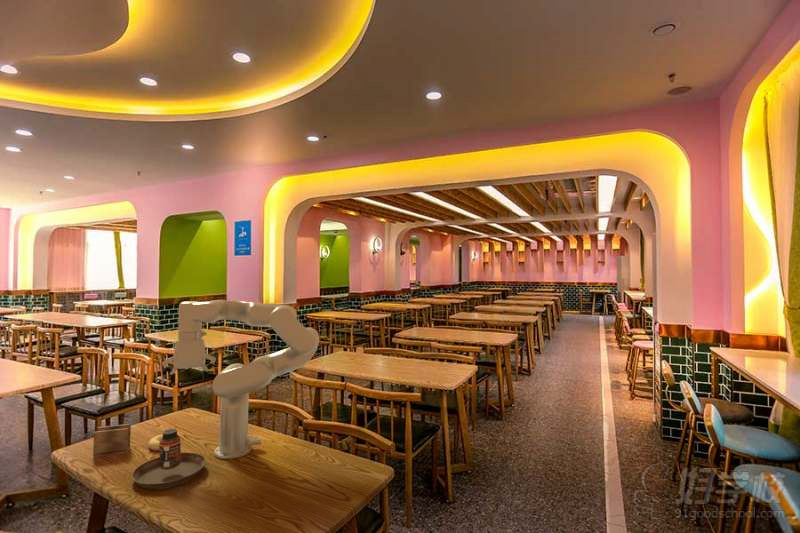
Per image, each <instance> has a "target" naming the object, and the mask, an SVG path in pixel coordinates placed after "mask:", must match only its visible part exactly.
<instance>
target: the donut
mask: <svg viewBox="0 0 800 533" xmlns="http://www.w3.org/2000/svg"><path fill="white" fill-rule="evenodd" d="M162 437H163V434H158V435H156V436H154V437H152V438H151V439H150V440H149V441H148V448H149V449H150V450H152V451H155V452H159V442H160V440H161V438H162Z"/></svg>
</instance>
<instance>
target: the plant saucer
mask: <svg viewBox="0 0 800 533" xmlns="http://www.w3.org/2000/svg"><path fill="white" fill-rule="evenodd" d="M206 461H207V460H206V458H205V457H204V455H202V454H198V453H195V452H181V463H180V464H179V465H178V466H177V467H175V468H173V469H168V470H164V469H161V468H160V456H158V457H156V458H152V459H150V460H148V461H145V462H143V463H142V464H140V465H138V466H137V467H136V468H134V470H133V471H132V473H131V479H132V480H133V481H134V483H136V484H137V485H138V486H140V487H142V488H144V489H147V490H162V489H163V490H164V489H168V488H173V487H177V486H179V485H180V486H181V485H183V484H185V483H186V482H188V481H191V480H192V479H194V478H195V477H197V475H199V473H200V472H201V471H202V469H203V467H204V466H205V465H206Z"/></svg>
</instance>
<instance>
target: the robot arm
mask: <svg viewBox="0 0 800 533" xmlns="http://www.w3.org/2000/svg"><path fill="white" fill-rule="evenodd" d="M297 313H298V312H297V310H296V309H295V308H294V307H293V306H290V305H288V304H287V305H286V304H277V303H263V302H262V303H261V302H252V301H250V302H249V301H241V300H227V299H216V300H215V299H214V300H211V301H210V300H209V301H205V302H204V301H203V302H200V301H196V300H195V301H193V300H190V301H189V300H188V301H182V302H180V303H179V305H178V326H177V327H178V331H177V332H178V333H177V334H178V335H177V339H175V344H174V348H173V356H171V357H169V358H167V359H165V360H163V361H162V362H161V364H162V367H163V369H164V370H165V371H166V372H167V373H168V374H169V375H170V384H172V386H173V387H175V386H176V372H177V371H178V370H181V369H182V370H183V369H193V368H202V383H203V384H204V383H206V380H208V372H209V370H211V368H212V367H213V366H214V364H215V362H216V360H217V358H216V357H215V356H213V355H210V354H207V353H206V345H205V339H204V336H207V332H206V331H203V330H202V328H203V323H206V324H211V323H215V322H217V321H220V320H222V321H223V320H226V321H236V322H237V321H238V322H242V323H245V324H246V325H248V326H250V327H261V328H262V327H263V328H272V330H273V331H274V332H275V334H277V336H278V337H279V338H280V339H281V340H283V342H284V343H285V344H286V346H288V347H287V348H283V349H281V350H279V351H275V352H272V353H269V354H265V355H262V356H258V357H256V358H254V359H253V360H252V361H251V362H249V363H246V364H242V363H240V362H239V363H232V364H230V365H228V366H226V367H225V368H224V369H222V370H221V371H220V372H219V373H217V375H216V376H215V377H214V379H213V382H212V391H213V394H214V395H216V396H217V397H218V398H220V403H219V404H220V405H219V436H218V437H219V440H218V441H219V442H218V443H219V444H218V446H217V447H216V448H214V456H215V457H216V458H218V459H220V460H221V459H222V460H234V459H238V458H242V457H244V456H246V455H248V454H250V453H251V451H252V450H251V449H253V448H252V446H254V445H255V446H257V445H261V442H262V441H261V438H257V436H256V437H249V434H248V432H249V426H248V425H249V399H250V398H249V397H250V396H249V395H250V393H252V392H255V391H258V390H260V389H263V388H264V387H266V386H268V385H269V384H270V383H271V382H272V380H273V379H275V378H277V377H280V376H283V375H285V374H288V373H290V372H293V371H296V370H298V369H299V368H301V367H304V366H305V365H307V363H308V362H309V361H311V359H312V358H313V357H314V355H315V354H316V352H317V350H318V348H319V343H320V334H319V332H318V331H317V330H316V329H315V328H313V327H309V326H308V327H305V326H304V325H303V324H302V322H300V321H299V319H298V314H297ZM206 359H207V360H210V362H209V363H208V364H207V365H206ZM172 362H173V367H172V368H171V367H170V366H169V363H172Z"/></svg>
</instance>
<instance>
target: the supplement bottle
mask: <svg viewBox="0 0 800 533" xmlns="http://www.w3.org/2000/svg"><path fill="white" fill-rule="evenodd" d="M162 435H163V437H162V438H161V440H160V442H159V451H158V452H159V456H158V457H160V468H161V469H164V470H168V469H173V468H175V467H177V466H178V465H179V464H180V463H181V453H182V451H181V436H180V435H179V434H178V429H177V428H169V429H168V428H167V429H165V430H163V431H162Z"/></svg>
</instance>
